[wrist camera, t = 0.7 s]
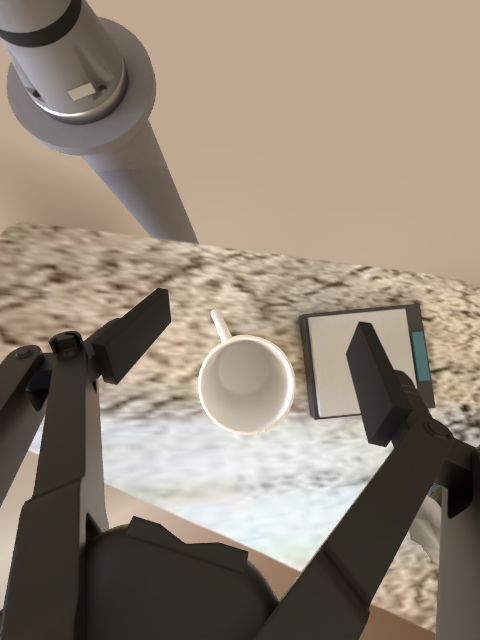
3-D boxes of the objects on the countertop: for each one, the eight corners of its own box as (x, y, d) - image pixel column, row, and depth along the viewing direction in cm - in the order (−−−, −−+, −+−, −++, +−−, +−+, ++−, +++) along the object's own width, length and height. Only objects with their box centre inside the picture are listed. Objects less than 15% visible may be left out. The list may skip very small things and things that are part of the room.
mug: (194, 324, 32) (167, 316, 20) (254, 303, 32) (263, 281, 20) (224, 409, 31) (215, 454, 19) (285, 386, 31) (314, 416, 19)
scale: (299, 315, 32) (304, 313, 29) (408, 305, 32) (424, 302, 29) (310, 414, 31) (317, 422, 28) (423, 403, 31) (441, 409, 28)
